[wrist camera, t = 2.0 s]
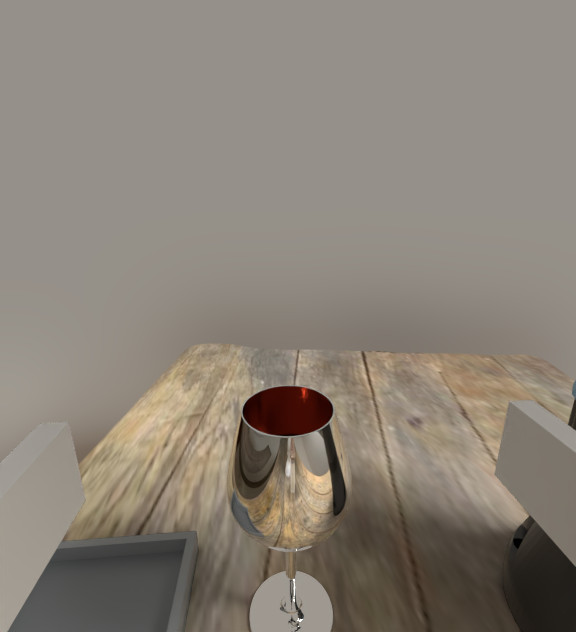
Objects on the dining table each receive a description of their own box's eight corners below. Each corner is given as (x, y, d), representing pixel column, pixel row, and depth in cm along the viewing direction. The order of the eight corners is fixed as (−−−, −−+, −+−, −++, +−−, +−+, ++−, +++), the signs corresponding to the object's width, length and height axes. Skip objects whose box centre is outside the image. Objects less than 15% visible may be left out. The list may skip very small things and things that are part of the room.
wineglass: (240, 566, 31) (226, 380, 25) (333, 558, 31) (339, 374, 26) (234, 688, 23) (212, 457, 18) (358, 674, 24) (373, 447, 18)
